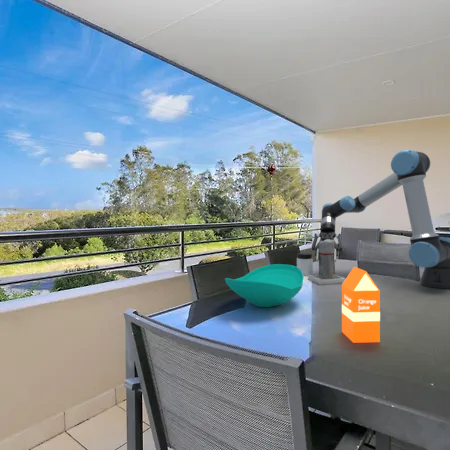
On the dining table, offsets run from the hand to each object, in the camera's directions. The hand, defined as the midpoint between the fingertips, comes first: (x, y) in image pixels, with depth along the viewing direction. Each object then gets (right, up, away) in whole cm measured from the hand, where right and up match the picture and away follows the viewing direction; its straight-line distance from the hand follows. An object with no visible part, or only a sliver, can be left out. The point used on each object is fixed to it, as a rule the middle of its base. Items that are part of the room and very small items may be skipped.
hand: (326, 260), depth 175 cm
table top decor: (-35, -14, -38) cm, 54 cm away
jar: (-5, -11, +24) cm, 27 cm away
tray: (+1, -11, +4) cm, 12 cm away
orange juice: (-12, -15, -74) cm, 76 cm away
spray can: (+1, -10, +4) cm, 10 cm away
